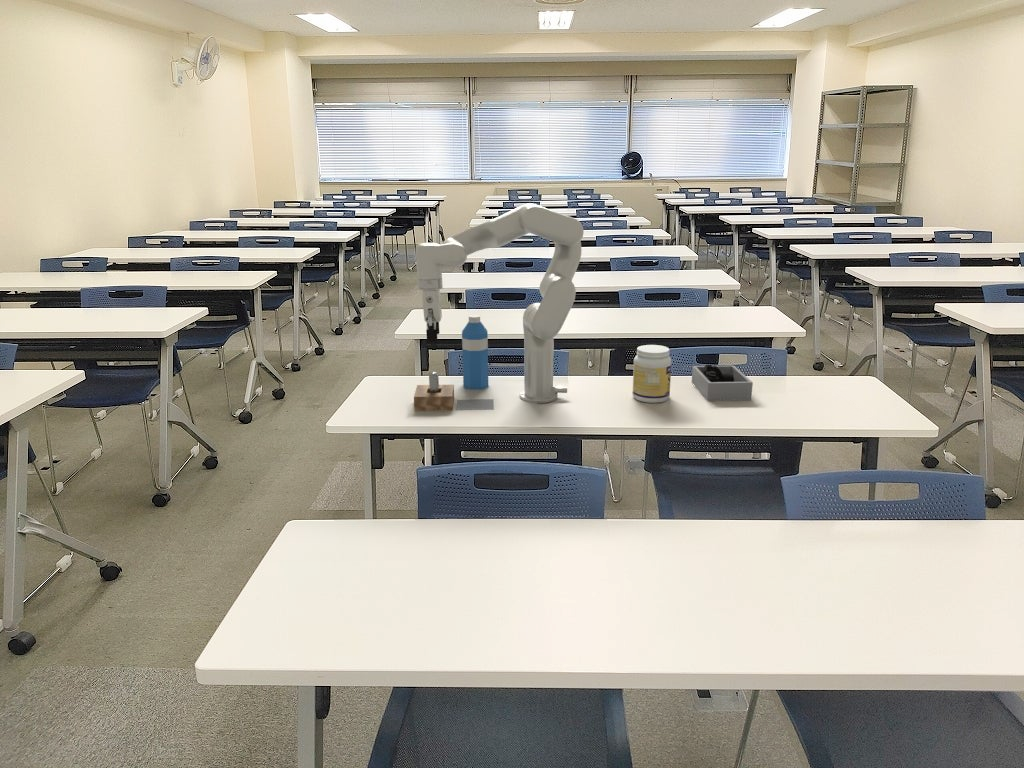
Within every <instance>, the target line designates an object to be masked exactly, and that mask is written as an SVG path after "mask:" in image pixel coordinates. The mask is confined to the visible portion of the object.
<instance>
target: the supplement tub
mask: <svg viewBox="0 0 1024 768" xmlns="http://www.w3.org/2000/svg"><path fill="white" fill-rule="evenodd" d="M670 354H671V353H670V348H669V347H668V346H664V345H658V344H646V345H645V344H644V345H640V346H638V347H637V348H636V355H635V357H634V358H633V371H632V374H633V375H632V376H633V377H632V396H633V398H634V399H635V400H637V401H639V402H643V403H651V404H657V403H663V402H666V401H668V400H669V399H670V395H671V378H672V376H671V375H672V359H671V357H670Z"/></svg>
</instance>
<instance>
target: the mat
mask: <svg viewBox="0 0 1024 768" xmlns="http://www.w3.org/2000/svg"><path fill="white" fill-rule="evenodd" d="M494 400H495V399H494V398H488V399H487V398H483V399H482V398H480V399H479V398H476V399H473V398H472V399H456V403H455V404H456V405H455V411H481V410H482V411H486V410H488V411H489V410H490V411H491V410H494V409H495V408H494V403H495V402H494Z"/></svg>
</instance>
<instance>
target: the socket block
mask: <svg viewBox="0 0 1024 768" xmlns="http://www.w3.org/2000/svg"><path fill="white" fill-rule="evenodd" d="M415 388H416V389H415V391H414V393H413V409H414V410H413V411H415V412H423V411H425V412H427V411H436V412H437V411H453V409H454V402H455V385H454V384H439V393H430V389H429V384H416V387H415Z"/></svg>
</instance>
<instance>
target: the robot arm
mask: <svg viewBox="0 0 1024 768" xmlns="http://www.w3.org/2000/svg"><path fill="white" fill-rule="evenodd" d="M528 234H532V235H534V236H536V237H539V238H542V239H545V240H548V241H550V242H553V243H554V252H553V255H552V258H551V260H550V262H549V265H548V267H547V268H546V271H545V273H544V275H543V278H542V279H541V281H540V284H539V289H538V291H539V294H540V295H541V297H542V299H541V301H540V302H534V303H531V304H530V305H528V306H527V307H526V308H525V310H524V312H523V316H522V327H523V339H524V340H523V343H524V344H523V346H524V352H523V353H524V355H523V357H524V358H523V359H524V361H523V364H524V366H523V367H524V369H523V371H524V372H523V373H524V377H523V378H524V379H523V380H524V381H523V382H524V383H523V384H524V388H523V389H524V390H522V391H520V393H519V398H520V399H521V400H522V401H524V402H527V403H534V404H547V403H551V402H554V401H556V400H557V399H558V397H559V395H558V394H568V387H567V386H563V385H555V381H554V351H555V348H554V346H555V345H554V342H555V341H554V337H556V336H557V335H558V334H559V333H560V331H561V329H562V328H563V325H564V324H565V321H566V320H567V317H568V315H569V314H570V311H571V309H572V307H573V304H574V302H575V299H576V293H577V291H576V286H575V284H574V283H573V278H574V277H575V274H576V272H577V269H578V267H579V265H580V262H581V257H582V242H581V240H582V239H583V237H584V226H583V225H582V223H581V222H580V220H579V219H577V218H575V217H572V216H570V215H566V214H563V213H560V212H556V211H554V210H551V209H548V208H546V207H544V206H542V205H539V204H536V203H524V204H522V205H519V206H518V207H515V208H514V209H511V210H510V211H508V212H505V213H503V214H501V215H499V216H496V217H495V218H493V219H490V220H487V221H485V222H482V223H481V224H480V223H479V224H478V225H475V226H473V227H470V228H467V229H466V230H463V231H460V232H459V233H457V234H454V235H452V236H451V237H447V239H445V240H443V241H442V242H441V244H439V243H437V242H422V243H418V244H416V246H415V260H416V261H415V264H416V274H417V275H416V278H417V289H418V290H419V291H421V292H422V293H421V294H422V295H421V296H422V309H423V311H422V312H423V318H424V319H423V320H424V322H425V323H426V331H425V332H426V333H425V334H426V342H427V343H437V342H438V335H439V334H440V322H441V320H442V317H443V314H442V302H441V301H442V299H441V298H442V297H441V291H440V290H442V289H443V272H442V268H444V267H445V268H458V267H459V268H460V267H461V266H463V265H464V264H465V263H466V261H467V258H468V256H469V255H472V254H474V253H476V252H480V251H483V250H488V249H496V248H497V249H498V248H500V247H503V246H505V245H507V244H509V243H512V242H514V241H516V240H517V239H519V238H521V237H524V236H526V235H528Z"/></svg>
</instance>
